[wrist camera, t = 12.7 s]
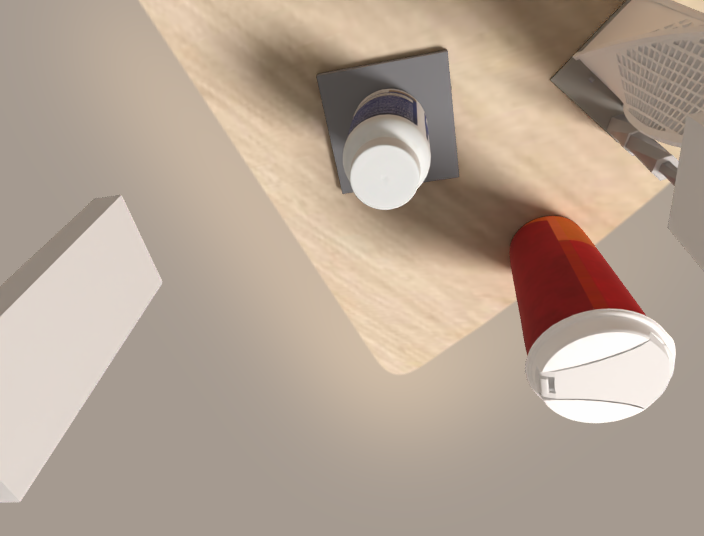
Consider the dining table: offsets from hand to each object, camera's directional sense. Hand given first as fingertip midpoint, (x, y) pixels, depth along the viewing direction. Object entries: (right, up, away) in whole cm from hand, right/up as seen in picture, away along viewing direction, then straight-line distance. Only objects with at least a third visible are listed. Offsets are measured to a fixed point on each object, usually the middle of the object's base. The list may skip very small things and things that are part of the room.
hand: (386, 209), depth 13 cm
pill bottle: (+2, +9, +25) cm, 27 cm away
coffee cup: (+15, 0, +30) cm, 34 cm away
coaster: (+2, +9, +26) cm, 27 cm away
